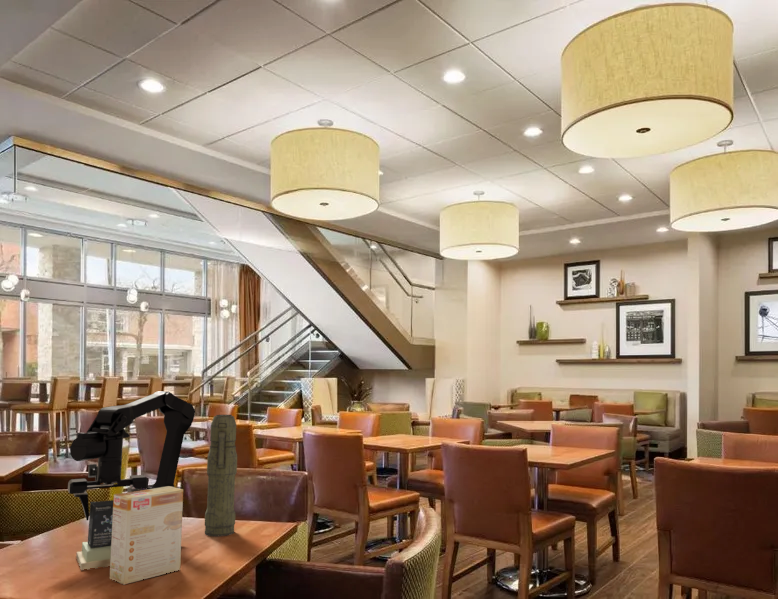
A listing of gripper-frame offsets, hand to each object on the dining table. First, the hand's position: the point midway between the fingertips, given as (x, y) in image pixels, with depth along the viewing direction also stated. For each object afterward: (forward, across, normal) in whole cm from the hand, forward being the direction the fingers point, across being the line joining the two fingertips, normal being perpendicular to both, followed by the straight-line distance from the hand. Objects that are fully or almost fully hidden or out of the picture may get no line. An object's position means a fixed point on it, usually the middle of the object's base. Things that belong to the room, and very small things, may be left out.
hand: (106, 518), depth 171 cm
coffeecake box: (+11, -7, +17) cm, 21 cm away
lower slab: (+12, 0, 0) cm, 12 cm away
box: (+7, 0, 0) cm, 7 cm away
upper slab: (+9, 0, 0) cm, 9 cm away
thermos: (+11, -34, -15) cm, 39 cm away
